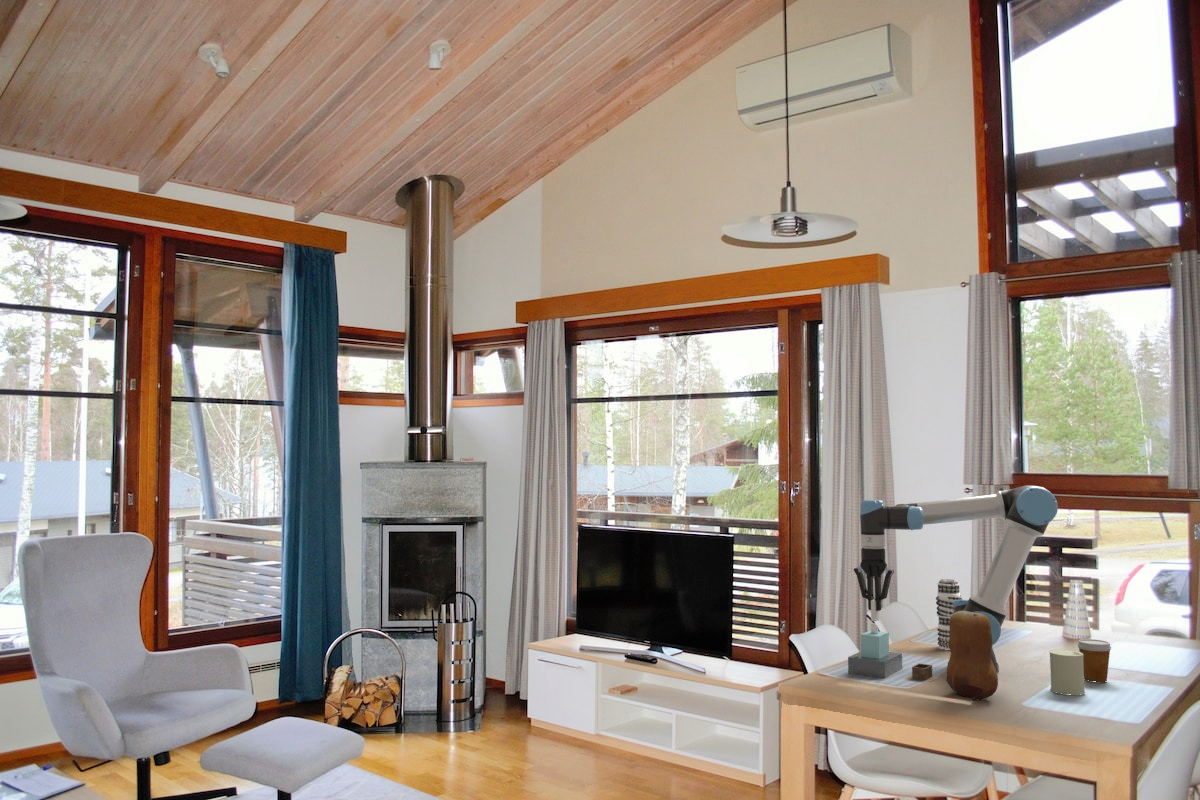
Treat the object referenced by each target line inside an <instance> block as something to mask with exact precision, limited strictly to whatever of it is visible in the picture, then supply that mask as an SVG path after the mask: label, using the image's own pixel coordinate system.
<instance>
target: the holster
mask: <svg viewBox="0 0 1200 800" xmlns="http://www.w3.org/2000/svg"><path fill="white" fill-rule="evenodd" d="M911 673H912V674H910V675H908V676H906V677H905V679H909V680H916V681H921V682H922V681H923V682H930V683H932V682H933V681H935V680H937V679H938V678H939V676H937V675H933V665H932V664H926V663H917V664H914V665H913V666H912V667H911Z"/></svg>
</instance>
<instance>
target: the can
mask: <svg viewBox="0 0 1200 800" xmlns="http://www.w3.org/2000/svg"><path fill="white" fill-rule="evenodd" d="M1049 665H1050V667H1049V668H1050V691H1051V690H1052V691H1054V692H1057V693H1062V694H1071V695H1080V694H1084V693H1085V694H1086V691H1085V680H1084V668H1083V653H1081V652H1080V651H1077V650H1071V649H1052V650H1050V651H1049ZM1052 691H1051V692H1052ZM1054 692H1053V693H1054ZM1057 693H1056V694H1057ZM1062 694H1061V695H1062ZM1085 694H1084V695H1085ZM1080 696H1081V695H1080Z"/></svg>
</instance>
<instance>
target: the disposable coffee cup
mask: <svg viewBox="0 0 1200 800" xmlns="http://www.w3.org/2000/svg"><path fill="white" fill-rule="evenodd" d="M1077 647H1078V649H1079V651H1078V652H1081V653H1083V668H1084V679H1085V680H1084V681H1086V680H1089V681H1096V682H1105V681H1107V682H1108V672H1109V663H1110V655H1111V653H1110V652H1111V649H1112V646H1111V644H1110V642H1109V641H1106V640H1102V639H1101V640H1100V639H1094V638H1093V639H1092V638H1085V639H1084V638H1083V639H1078V643H1077ZM1089 681H1088V682H1089ZM1105 683H1106V682H1105Z"/></svg>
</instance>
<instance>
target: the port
mask: <svg viewBox="0 0 1200 800" xmlns="http://www.w3.org/2000/svg"><path fill="white" fill-rule="evenodd" d="M847 670H848V671H847V673H848V675H849V676H850V675H852V674H853V675H858V676H859V675H860V676H867V677H873V678H880V679H887V678H888V677H891V676H893V675H894V674H896V673H897V672H898V673H899V672H900V671H901V670H903V653H901V652H893V651H889V654H888V655H886V656H884V657H882V658H880V659H877V658H869V657H861V651H858V652H856V653H854V654H852V655H849V656H848V657H847Z"/></svg>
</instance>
